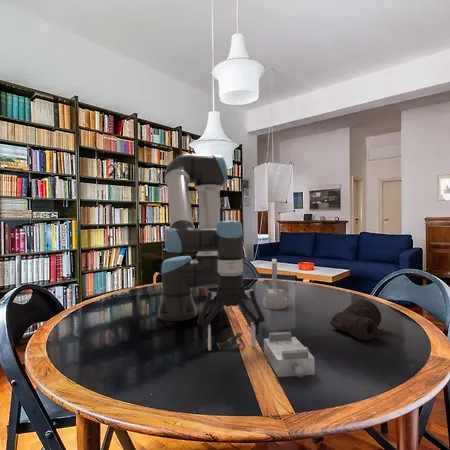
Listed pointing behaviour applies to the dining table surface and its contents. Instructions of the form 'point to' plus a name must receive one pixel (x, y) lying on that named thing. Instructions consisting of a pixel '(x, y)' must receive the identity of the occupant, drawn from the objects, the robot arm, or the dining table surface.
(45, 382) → the dining table surface
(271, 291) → the engine component
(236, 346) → the wooden post with brackets
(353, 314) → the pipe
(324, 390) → the dining table surface
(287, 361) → the machine vise
